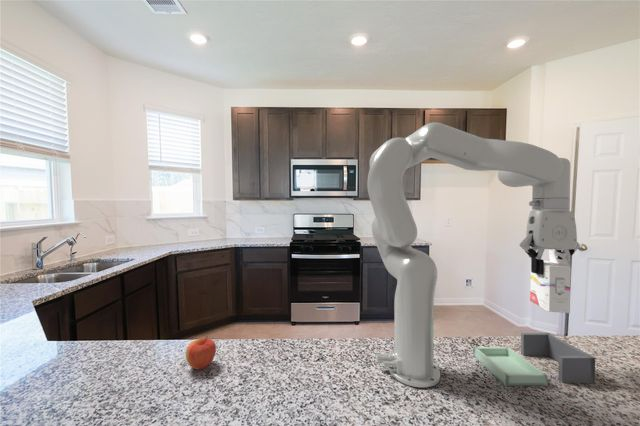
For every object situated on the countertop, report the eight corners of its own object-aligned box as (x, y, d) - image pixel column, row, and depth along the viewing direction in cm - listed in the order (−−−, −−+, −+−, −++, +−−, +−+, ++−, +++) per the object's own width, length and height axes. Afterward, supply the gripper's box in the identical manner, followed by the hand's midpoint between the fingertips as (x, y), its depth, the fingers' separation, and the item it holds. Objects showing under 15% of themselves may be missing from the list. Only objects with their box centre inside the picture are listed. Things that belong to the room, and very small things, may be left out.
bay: (562, 382, 64) (562, 358, 64) (520, 353, 77) (520, 333, 77) (595, 382, 64) (595, 357, 64) (548, 353, 77) (548, 332, 77)
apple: (183, 365, 71) (182, 336, 71) (211, 356, 76) (211, 328, 76) (189, 379, 65) (189, 347, 65) (219, 368, 70) (219, 338, 70)
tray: (505, 385, 63) (505, 375, 62) (473, 355, 76) (473, 347, 75) (547, 385, 63) (547, 375, 63) (507, 355, 76) (507, 346, 76)
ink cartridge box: (528, 300, 75) (529, 249, 75) (548, 302, 74) (549, 249, 74) (548, 312, 66) (549, 253, 66) (571, 313, 65) (572, 254, 65)
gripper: (529, 205, 66) (528, 277, 66) (597, 205, 66) (596, 277, 66) (507, 205, 73) (506, 270, 74) (568, 206, 74) (567, 270, 74)
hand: (549, 272), depth 70 cm, fingers closed on ink cartridge box, 5 cm apart
